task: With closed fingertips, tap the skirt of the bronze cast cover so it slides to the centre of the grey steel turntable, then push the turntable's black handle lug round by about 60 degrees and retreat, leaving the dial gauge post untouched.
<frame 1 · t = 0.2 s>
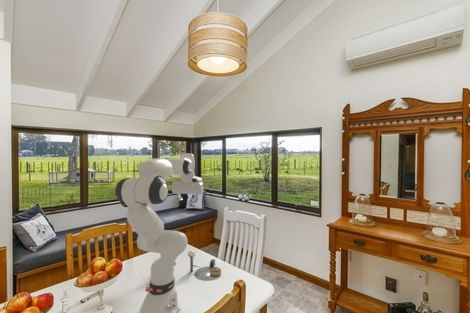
hand: (187, 200, 144), 47 cm above the table, fingers open, 8 cm apart
vase: (166, 273, 148), on the table
turntable: (208, 269, 147), point 3 cm above the table, hinge at 0.0°, touching cover
cover: (215, 274, 144), point 1 cm above the table, touching turntable
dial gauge: (191, 273, 147), on the table
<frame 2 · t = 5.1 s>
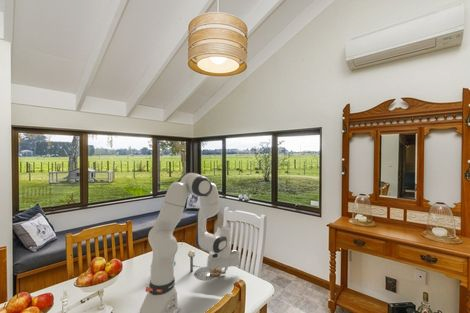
hand: (223, 273, 143), 2 cm above the table, fingers closed
turntable: (208, 269, 147), point 3 cm above the table, hinge at 0.0°
cover: (215, 274, 144), point 1 cm above the table, touching gripper
everything else where it was.
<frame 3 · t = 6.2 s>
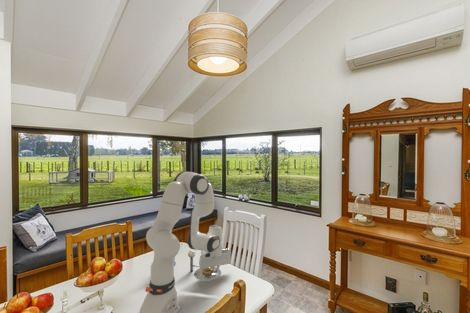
hand: (215, 272, 144), 2 cm above the table, fingers closed
cover: (207, 272, 146), point 1 cm above the table, touching gripper
everything else where it was.
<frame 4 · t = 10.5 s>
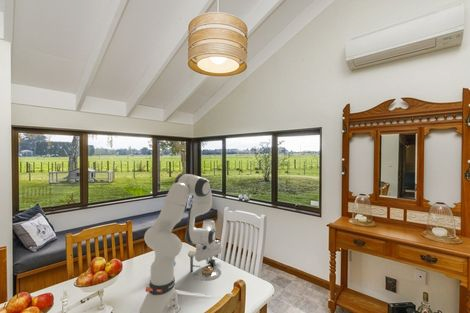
hand: (208, 263, 156), 2 cm above the table, fingers closed
turntable: (208, 269, 147), point 3 cm above the table, hinge at -0.2°, touching cover, gripper
cover: (207, 272, 146), point 1 cm above the table, touching turntable
everything else where it was.
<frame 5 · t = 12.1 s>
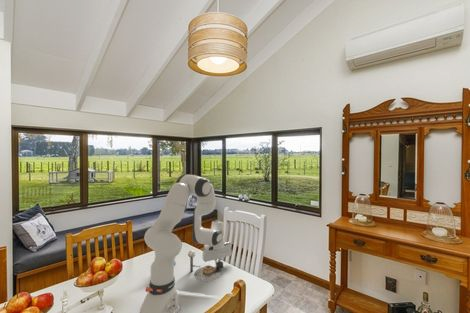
hand: (217, 264, 154), 2 cm above the table, fingers closed
turntable: (210, 270, 146), point 3 cm above the table, hinge at -32.9°, touching cover, gripper
everything else where it was.
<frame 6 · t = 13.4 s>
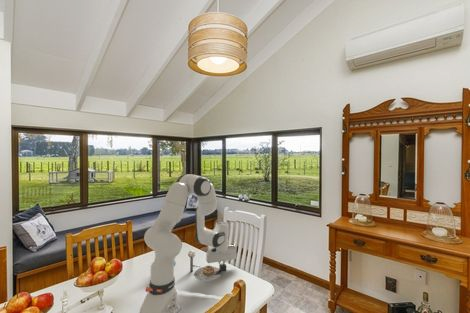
hand: (221, 267, 151), 2 cm above the table, fingers closed, pressing on turntable
turntable: (210, 270, 146), point 3 cm above the table, hinge at -57.0°, touching cover, gripper
everything else where it was.
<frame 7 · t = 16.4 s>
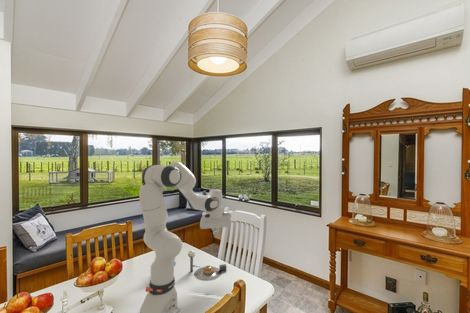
hand: (215, 234, 151), 24 cm above the table, fingers closed
turntable: (210, 270, 146), point 3 cm above the table, hinge at -57.6°, touching cover
everything else where it was.
at the end: turntable at -58° (first picture: +0°); cover 0.7 cm from the turntable (horizontally); cover tilted 0° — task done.
